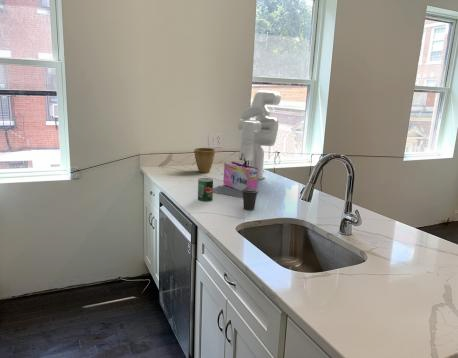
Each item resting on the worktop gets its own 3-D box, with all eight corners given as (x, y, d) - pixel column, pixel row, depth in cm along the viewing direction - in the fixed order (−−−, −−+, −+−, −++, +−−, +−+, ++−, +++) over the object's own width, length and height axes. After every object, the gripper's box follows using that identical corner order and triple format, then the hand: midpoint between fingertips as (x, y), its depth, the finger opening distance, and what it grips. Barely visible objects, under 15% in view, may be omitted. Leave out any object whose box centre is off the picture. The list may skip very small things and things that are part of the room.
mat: (219, 186, 231) (219, 185, 231) (254, 192, 220) (254, 192, 220) (206, 191, 219) (206, 190, 219) (243, 198, 208) (243, 197, 208)
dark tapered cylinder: (248, 205, 195) (249, 186, 193) (260, 209, 190) (261, 189, 188) (237, 208, 190) (238, 188, 188) (249, 212, 184) (250, 192, 182)
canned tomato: (210, 202, 198) (211, 181, 195) (195, 201, 199) (196, 180, 197) (214, 198, 205) (214, 178, 203) (200, 197, 207) (200, 177, 204)
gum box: (221, 184, 236) (222, 162, 233) (231, 182, 241) (232, 161, 238) (247, 192, 218) (248, 169, 215) (257, 191, 223) (258, 168, 220)
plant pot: (193, 169, 276) (193, 147, 273) (213, 169, 278) (214, 148, 274) (193, 173, 262) (194, 150, 258) (215, 174, 264) (216, 151, 260)
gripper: (247, 140, 237) (245, 169, 241) (236, 142, 224) (234, 172, 228) (258, 141, 233) (256, 170, 237) (247, 143, 221) (245, 174, 224)
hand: (245, 171), depth 233 cm, fingers closed
